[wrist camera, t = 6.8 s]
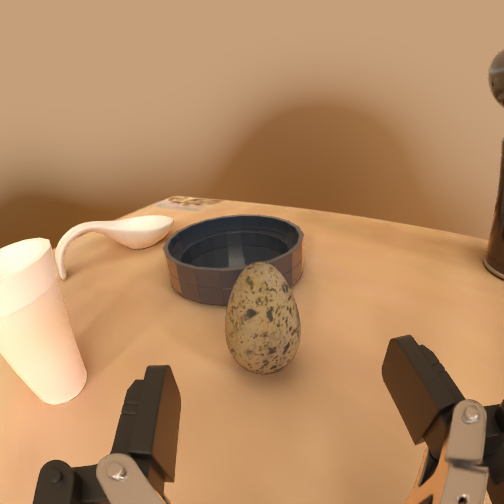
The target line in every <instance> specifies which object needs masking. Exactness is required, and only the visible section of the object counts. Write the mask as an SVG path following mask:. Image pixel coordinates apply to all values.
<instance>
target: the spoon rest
mask: <svg viewBox="0 0 504 504" xmlns="http://www.w3.org/2000/svg"><path fill="white" fill-rule="evenodd" d="M173 222H174V220H173V219H172V218H171V217H168V216H161V215H149V216H140V217H134V218H128V219H123V220H116V221H94V222H86V223H83V224H80V225H77V226H75V227H73V228H72V229H70V230H69V231H68V232H67V233H66V234H65V235H64V236H63V237H62V238H61V240H60V242H59V243H58V246H57V248H56V253H55V260H56V264H57V267H58V273H59V276H60V278H61V279H62V280H65V279H66V276H67V275H66V270H65V265H64V255H65V251H66V249H67V247H68V246H69V244H70V243H71V242H72V241H73V240H74V239H75V238H76V237H77V236H79V235H81V234H83V233H86V232H97V233H100V234H103V235H105V236H107V237H109V238H111V239H113V240H115V241H117V242H119V243H120V244H122V245H125V246H127V247H128V248H131V249H142V248H147V247H150V246H153V245H155V244H156V243H157V242H158V241H160V240H161V239H163V238H164V237H165V236H166V235H167V234H168V232H169V231H170V229H171V227H172V225H173Z"/></svg>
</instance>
